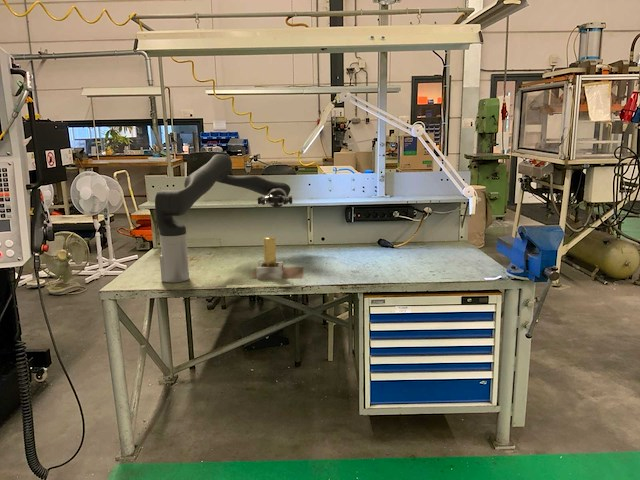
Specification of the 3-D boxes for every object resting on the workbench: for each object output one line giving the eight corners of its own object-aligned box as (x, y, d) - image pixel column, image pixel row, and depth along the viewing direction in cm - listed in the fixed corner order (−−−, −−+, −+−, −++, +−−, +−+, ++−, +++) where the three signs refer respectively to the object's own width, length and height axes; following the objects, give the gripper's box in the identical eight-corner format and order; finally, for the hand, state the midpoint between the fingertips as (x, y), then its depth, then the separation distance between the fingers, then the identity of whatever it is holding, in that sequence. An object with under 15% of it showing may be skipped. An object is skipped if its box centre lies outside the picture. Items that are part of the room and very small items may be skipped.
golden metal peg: (263, 276, 176) (262, 239, 173) (265, 273, 180) (264, 237, 177) (275, 276, 176) (274, 239, 173) (277, 273, 180) (276, 237, 177)
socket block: (250, 281, 174) (249, 268, 173) (256, 269, 189) (255, 257, 188) (302, 281, 173) (302, 267, 172) (304, 269, 189) (303, 257, 188)
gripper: (260, 189, 207) (255, 193, 191) (293, 188, 207) (291, 192, 191) (261, 206, 209) (256, 211, 193) (294, 206, 208) (291, 211, 193)
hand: (273, 202), depth 192 cm, fingers open, 8 cm apart
